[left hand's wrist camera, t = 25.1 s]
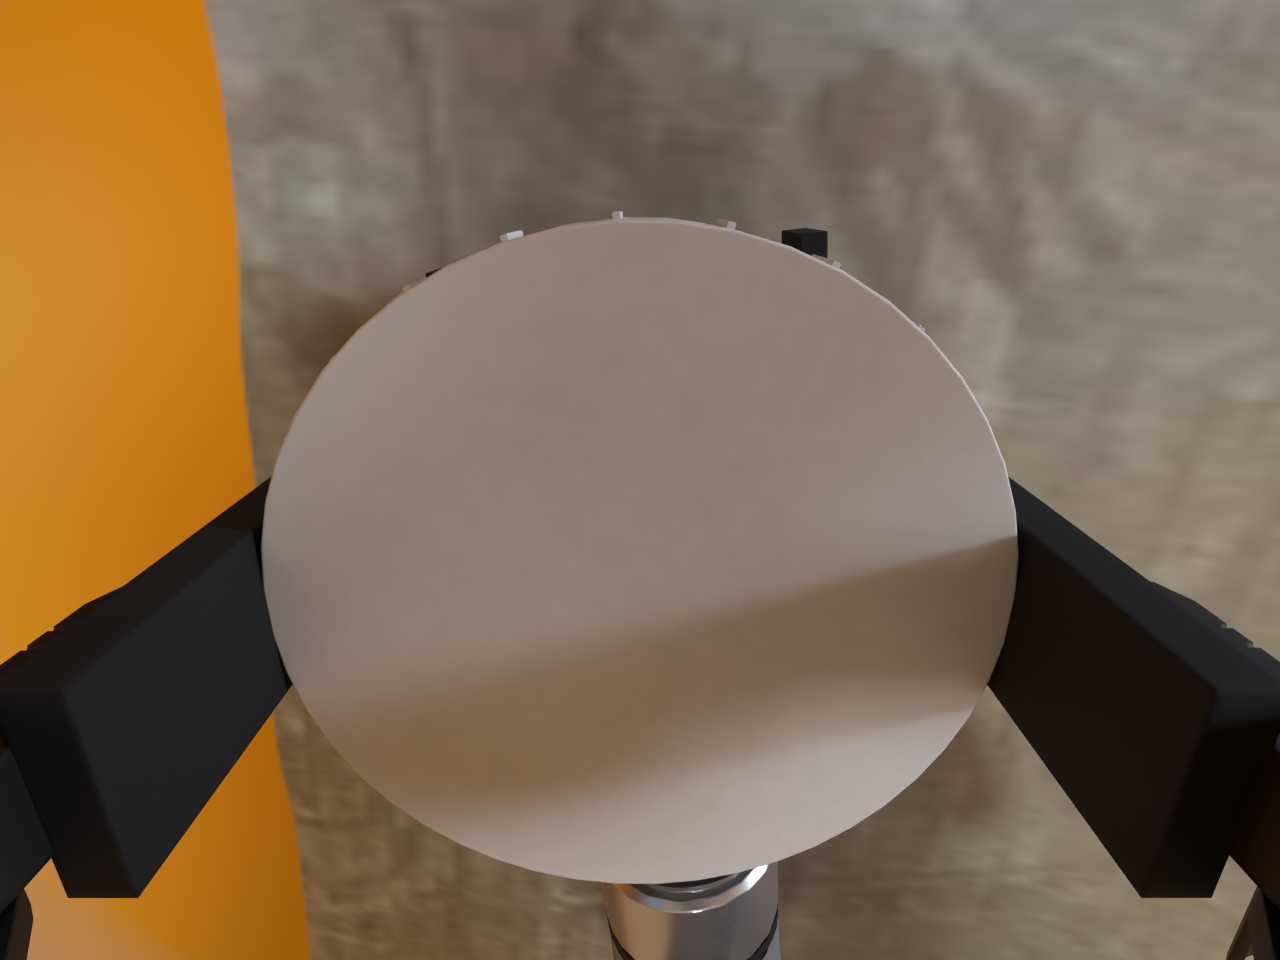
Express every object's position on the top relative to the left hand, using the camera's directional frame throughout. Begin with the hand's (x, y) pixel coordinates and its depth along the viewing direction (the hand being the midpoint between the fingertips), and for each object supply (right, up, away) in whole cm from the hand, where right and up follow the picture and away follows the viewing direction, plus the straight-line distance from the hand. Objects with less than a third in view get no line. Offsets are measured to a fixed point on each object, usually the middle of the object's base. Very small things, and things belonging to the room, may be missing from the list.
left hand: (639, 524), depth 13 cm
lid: (0, -1, -3) cm, 3 cm away
